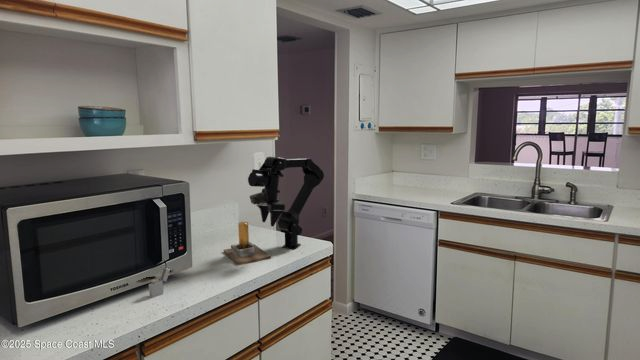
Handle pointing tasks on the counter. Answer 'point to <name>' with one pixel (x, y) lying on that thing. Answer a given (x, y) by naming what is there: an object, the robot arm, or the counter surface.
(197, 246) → the counter surface
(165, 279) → the lighter
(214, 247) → the counter surface
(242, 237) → the post
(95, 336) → the counter surface
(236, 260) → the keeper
